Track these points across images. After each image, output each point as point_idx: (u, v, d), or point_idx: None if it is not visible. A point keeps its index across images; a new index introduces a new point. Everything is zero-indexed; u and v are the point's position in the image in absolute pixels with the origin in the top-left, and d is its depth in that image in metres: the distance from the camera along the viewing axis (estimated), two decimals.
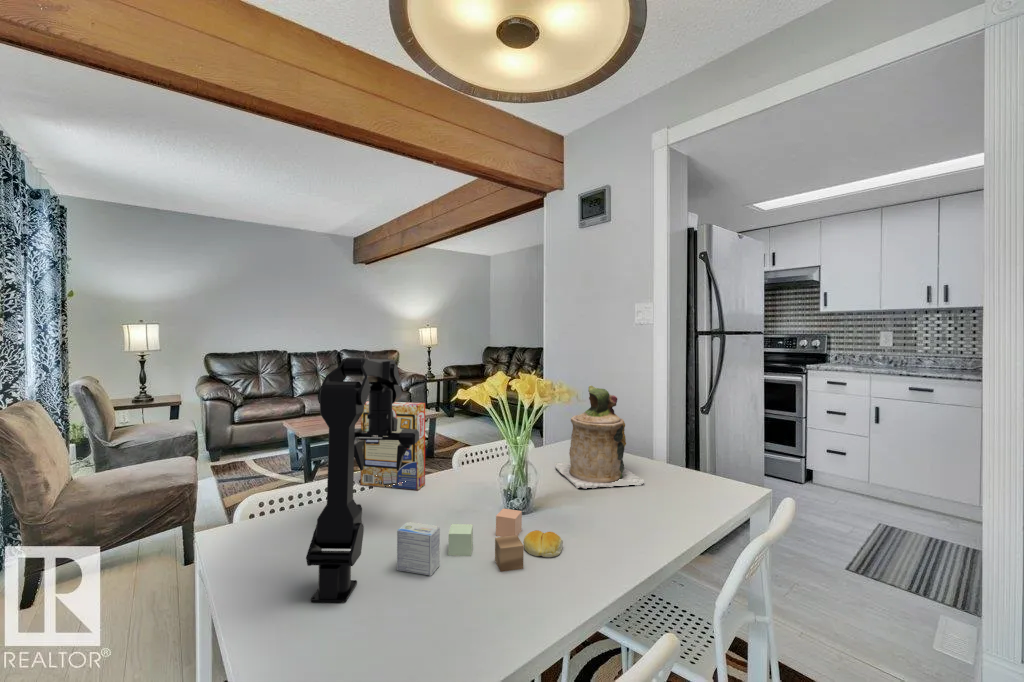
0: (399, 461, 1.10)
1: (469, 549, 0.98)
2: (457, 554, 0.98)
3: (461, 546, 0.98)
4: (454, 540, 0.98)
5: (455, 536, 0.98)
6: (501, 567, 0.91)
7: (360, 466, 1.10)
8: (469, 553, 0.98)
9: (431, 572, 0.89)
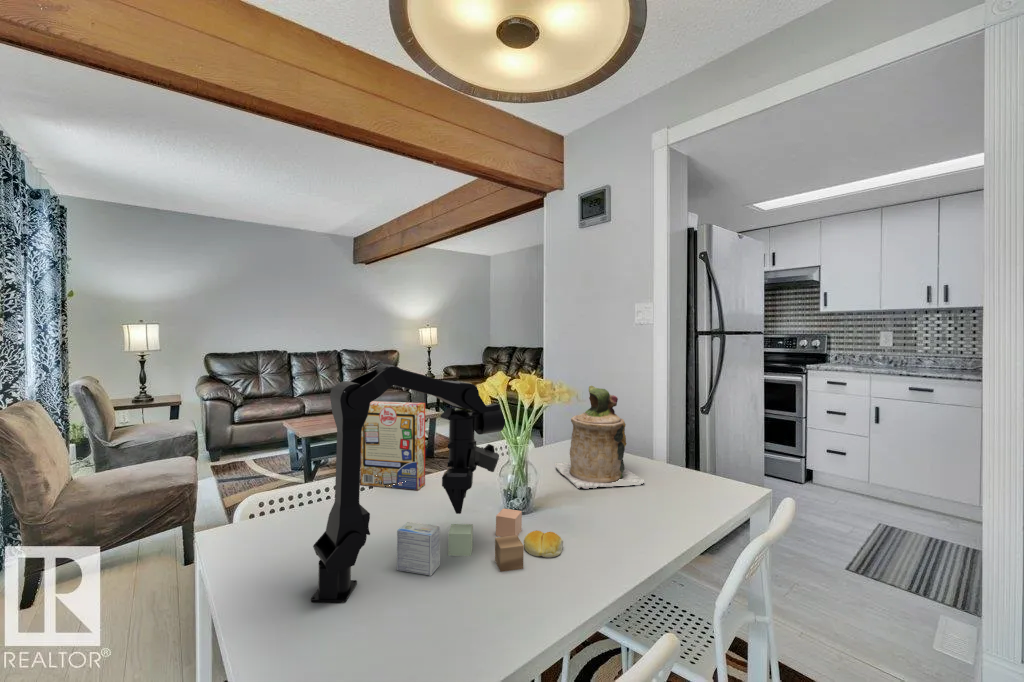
0: None
1: (469, 549, 0.98)
2: (457, 554, 0.98)
3: (461, 546, 0.98)
4: (454, 540, 0.98)
5: (454, 536, 0.98)
6: (501, 567, 0.91)
7: None
8: (469, 553, 0.98)
9: (431, 572, 0.89)
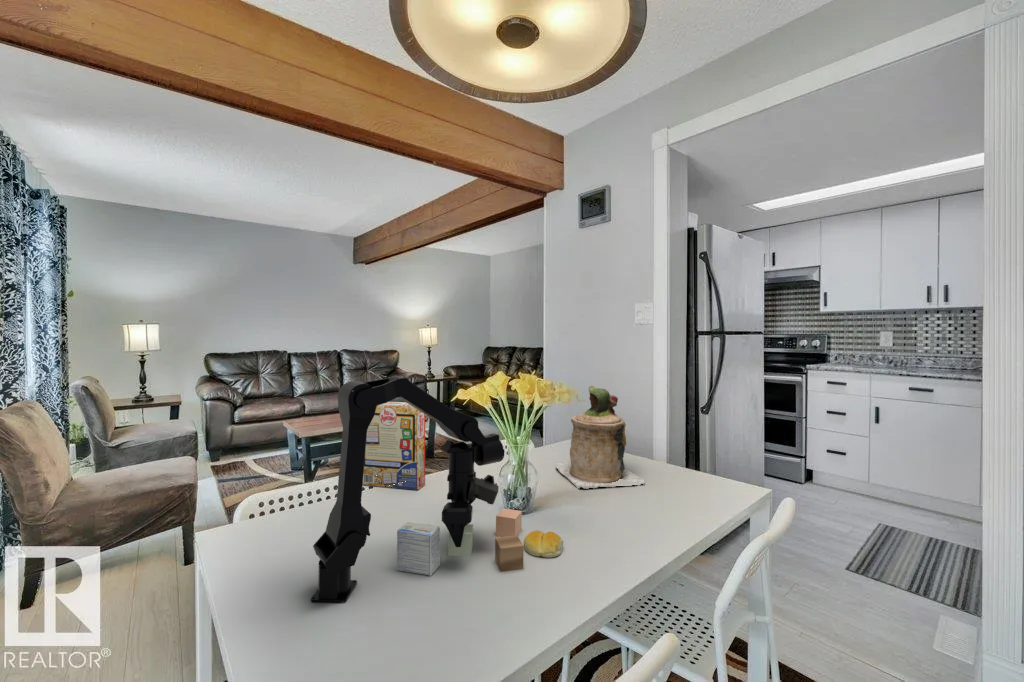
0: None
1: (469, 549, 0.98)
2: (457, 554, 0.98)
3: (461, 545, 0.98)
4: None
5: None
6: (501, 567, 0.91)
7: None
8: (469, 553, 0.98)
9: (431, 572, 0.89)
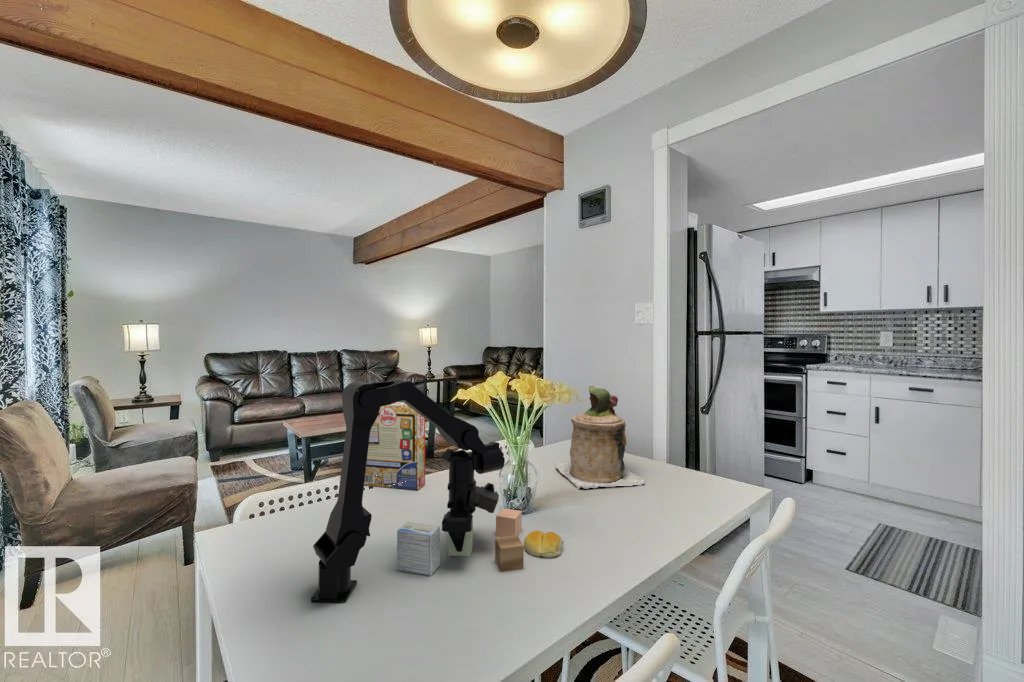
0: None
1: (469, 548, 0.98)
2: (457, 554, 0.98)
3: None
4: None
5: None
6: (501, 567, 0.91)
7: None
8: (469, 552, 0.98)
9: (431, 572, 0.89)
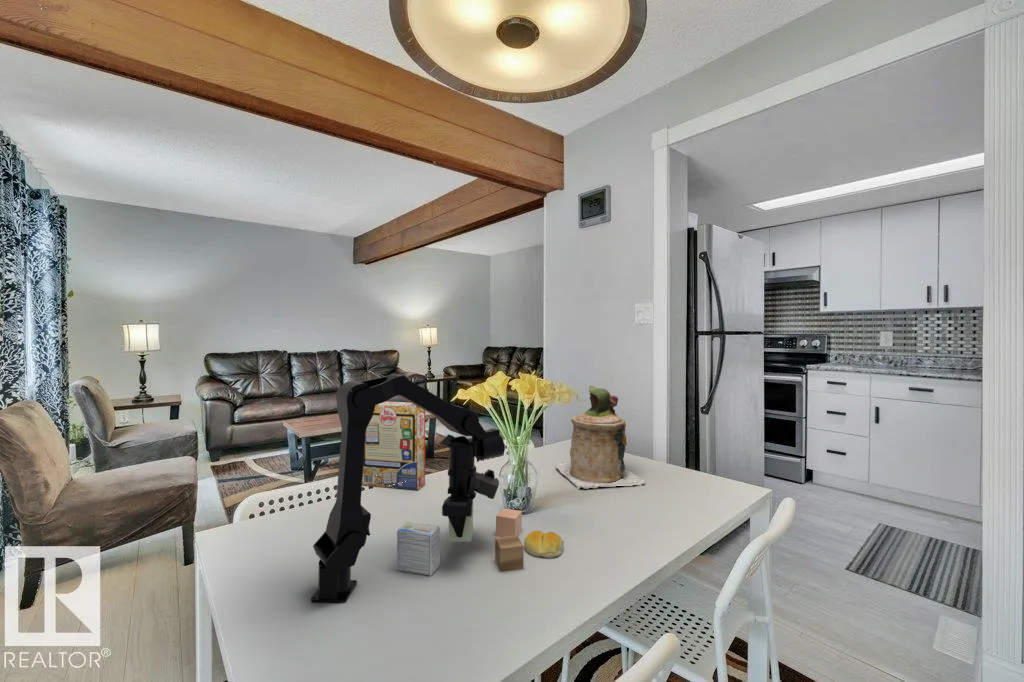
0: None
1: (469, 534, 0.98)
2: (457, 539, 0.98)
3: None
4: None
5: None
6: (501, 567, 0.91)
7: None
8: (469, 538, 0.98)
9: (431, 572, 0.89)
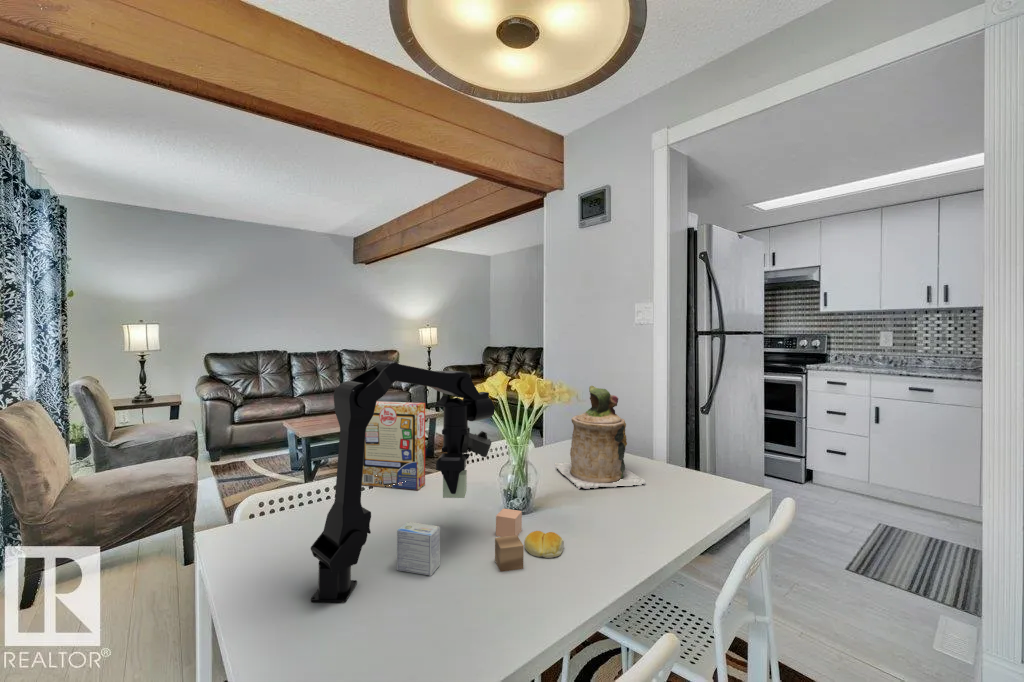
0: None
1: (463, 491, 1.02)
2: (451, 496, 1.02)
3: None
4: None
5: None
6: (501, 567, 0.91)
7: None
8: (463, 495, 1.02)
9: (431, 572, 0.89)
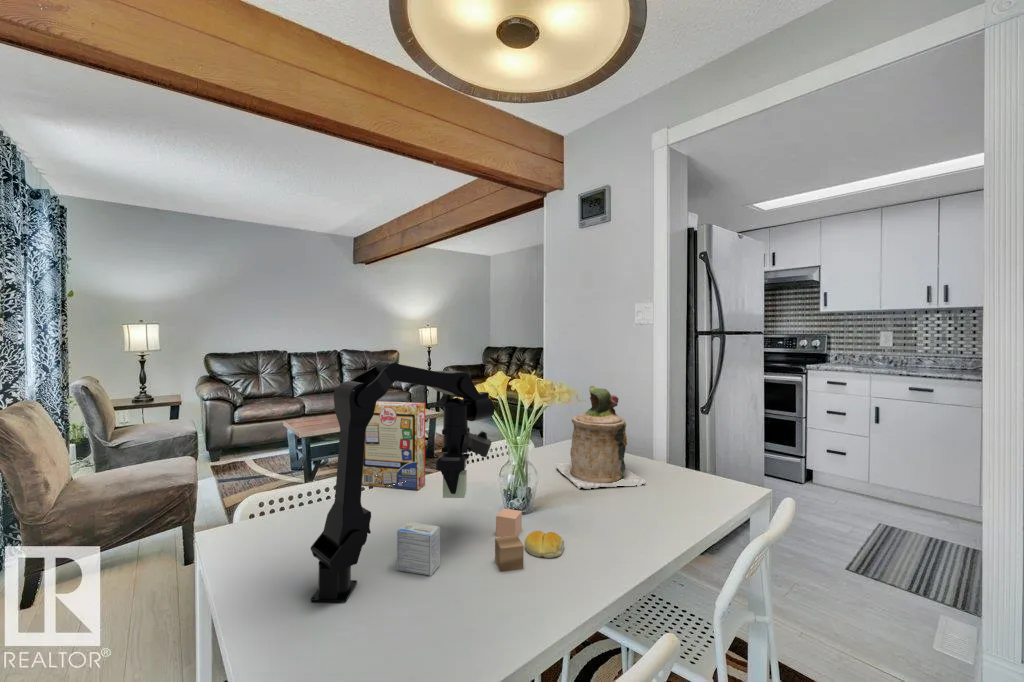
0: None
1: (463, 491, 1.02)
2: (451, 496, 1.02)
3: None
4: None
5: None
6: (501, 567, 0.91)
7: None
8: (463, 495, 1.02)
9: (431, 572, 0.89)
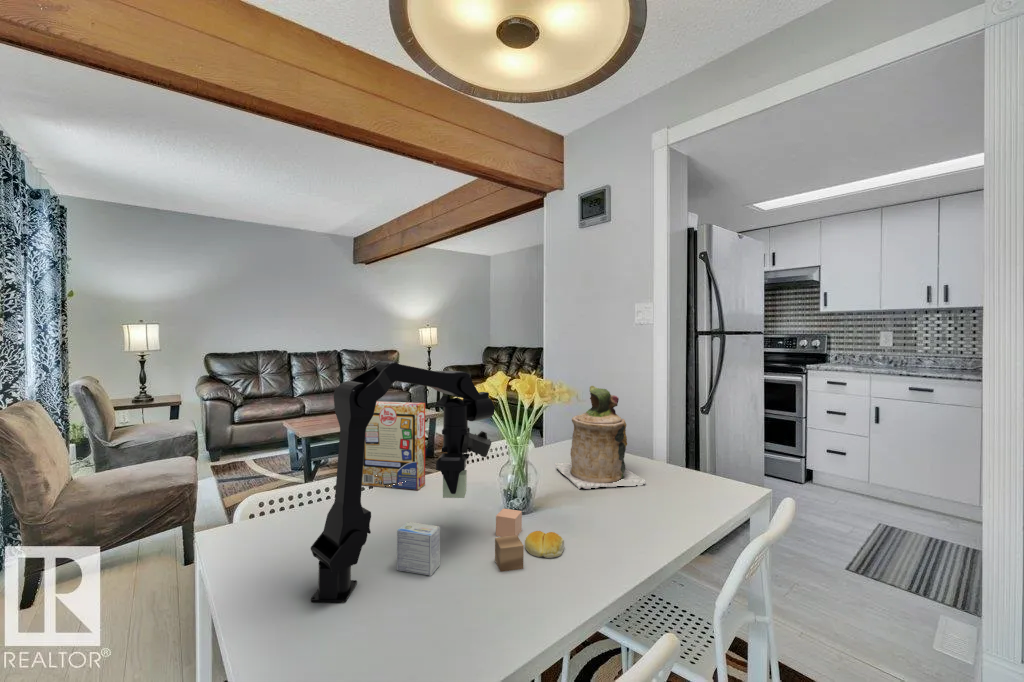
0: None
1: (463, 491, 1.02)
2: (451, 496, 1.02)
3: None
4: None
5: None
6: (501, 567, 0.91)
7: None
8: (463, 495, 1.02)
9: (431, 572, 0.89)
